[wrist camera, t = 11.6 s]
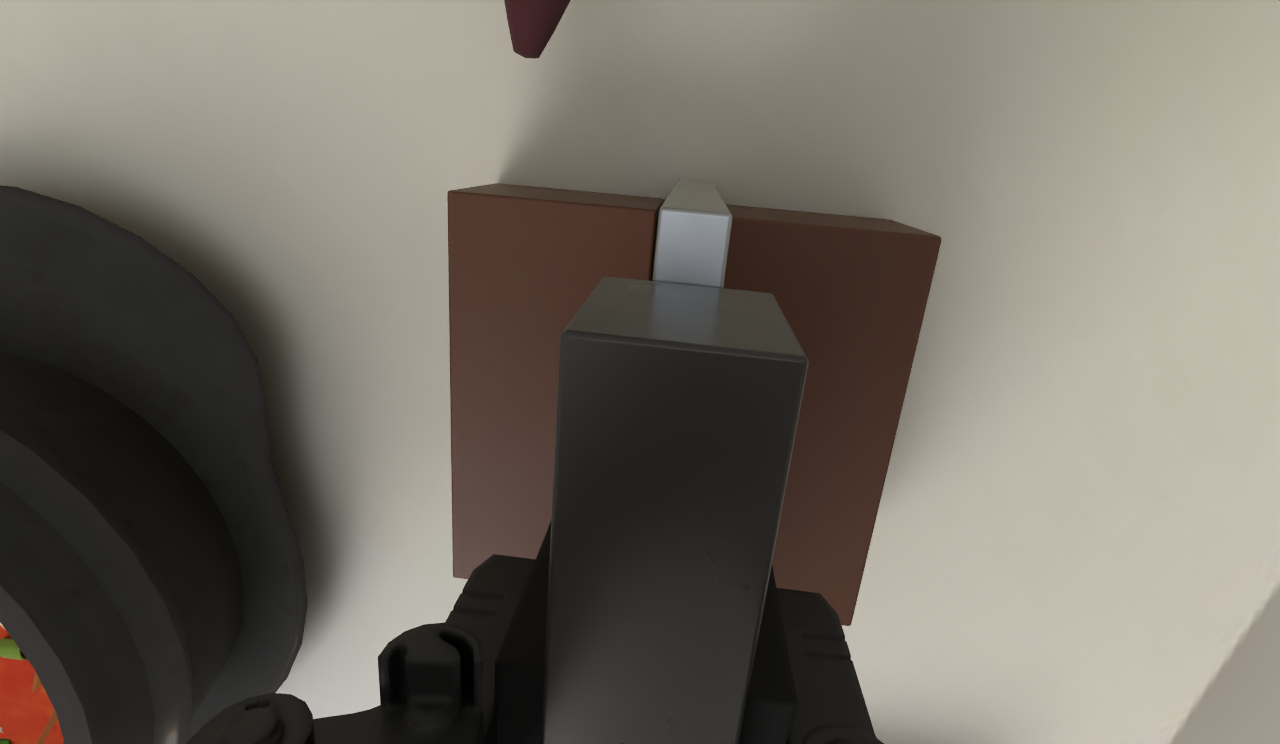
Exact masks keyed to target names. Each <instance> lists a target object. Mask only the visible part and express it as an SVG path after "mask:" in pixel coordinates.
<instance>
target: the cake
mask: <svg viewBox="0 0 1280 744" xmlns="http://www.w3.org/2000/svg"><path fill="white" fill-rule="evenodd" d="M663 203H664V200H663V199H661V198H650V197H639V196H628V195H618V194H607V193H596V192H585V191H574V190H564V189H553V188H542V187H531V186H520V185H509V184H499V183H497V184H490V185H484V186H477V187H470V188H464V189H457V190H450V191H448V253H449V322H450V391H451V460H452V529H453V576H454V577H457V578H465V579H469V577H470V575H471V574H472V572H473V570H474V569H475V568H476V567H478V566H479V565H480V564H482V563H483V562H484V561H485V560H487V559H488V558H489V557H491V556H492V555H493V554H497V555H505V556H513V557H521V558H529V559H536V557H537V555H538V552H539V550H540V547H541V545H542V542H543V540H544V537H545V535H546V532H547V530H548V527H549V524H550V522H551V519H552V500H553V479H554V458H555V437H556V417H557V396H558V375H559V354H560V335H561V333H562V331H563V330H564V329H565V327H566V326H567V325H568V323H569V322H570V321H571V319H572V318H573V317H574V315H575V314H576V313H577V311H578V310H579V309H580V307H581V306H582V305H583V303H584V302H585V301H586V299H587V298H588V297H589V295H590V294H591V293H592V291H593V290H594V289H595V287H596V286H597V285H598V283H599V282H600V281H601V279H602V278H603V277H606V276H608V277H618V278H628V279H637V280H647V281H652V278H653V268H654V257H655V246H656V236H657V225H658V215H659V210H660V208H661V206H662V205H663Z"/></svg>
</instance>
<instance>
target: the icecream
mask: <svg viewBox="0 0 1280 744" xmlns="http://www.w3.org/2000/svg"><path fill="white" fill-rule="evenodd" d="M569 2H570V0H505V6H506V12H507V19H508V24H509V29H510V34H511V40H512V45H513V50H514V52H516V53H517V54H519V55H521V56H523V57H525V58H539V57H540V55H541V53H542V51H543V50H544V48H545V46H546V45H547V43H548V41H549V39H550V38H551V36H552V34H553V32H554V31H555V29H556V27H557V25H558V23H559V21H560V19H561V17H562V15H563V13H564V11H565V9H566V8H567V6H568V4H569Z"/></svg>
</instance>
